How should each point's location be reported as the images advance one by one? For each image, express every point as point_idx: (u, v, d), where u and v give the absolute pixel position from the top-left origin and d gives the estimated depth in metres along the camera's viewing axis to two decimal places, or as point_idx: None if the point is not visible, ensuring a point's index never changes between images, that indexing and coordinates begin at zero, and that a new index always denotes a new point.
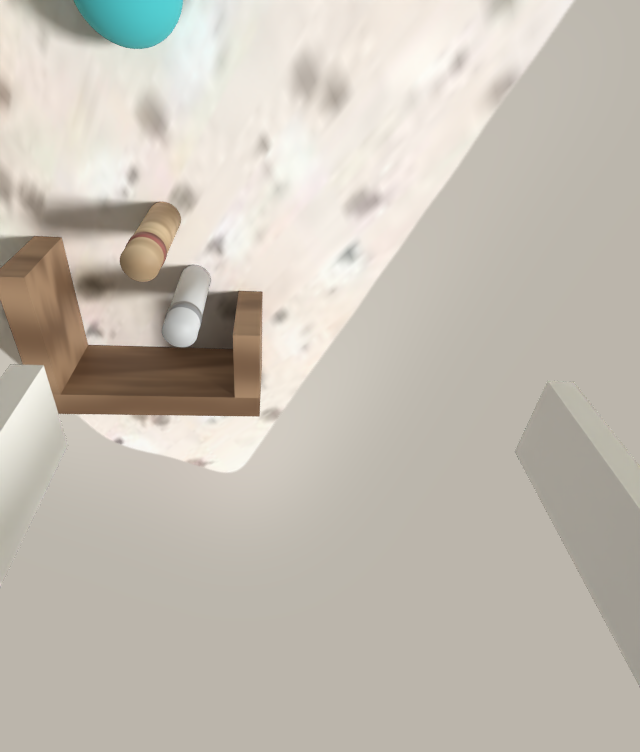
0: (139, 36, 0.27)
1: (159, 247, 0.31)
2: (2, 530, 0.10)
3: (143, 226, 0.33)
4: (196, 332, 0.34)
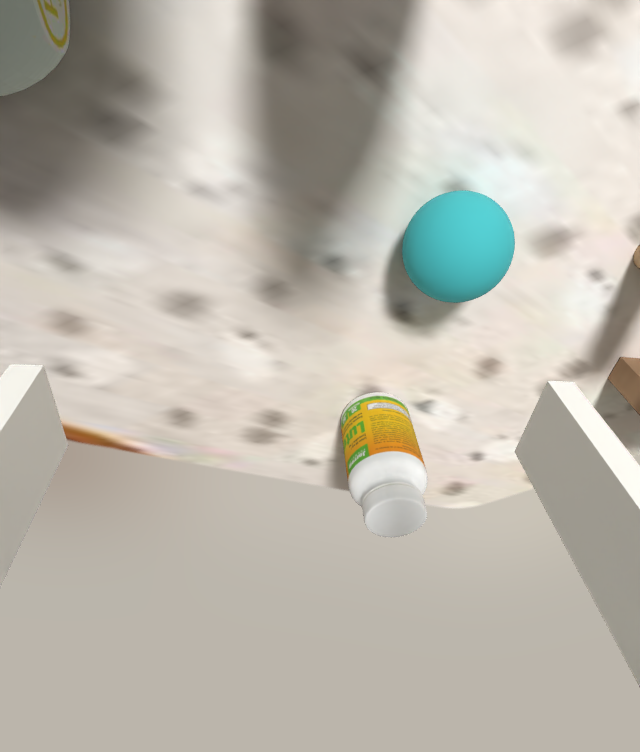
0: (512, 251, 0.26)
1: None
2: (2, 530, 0.10)
3: None
4: None
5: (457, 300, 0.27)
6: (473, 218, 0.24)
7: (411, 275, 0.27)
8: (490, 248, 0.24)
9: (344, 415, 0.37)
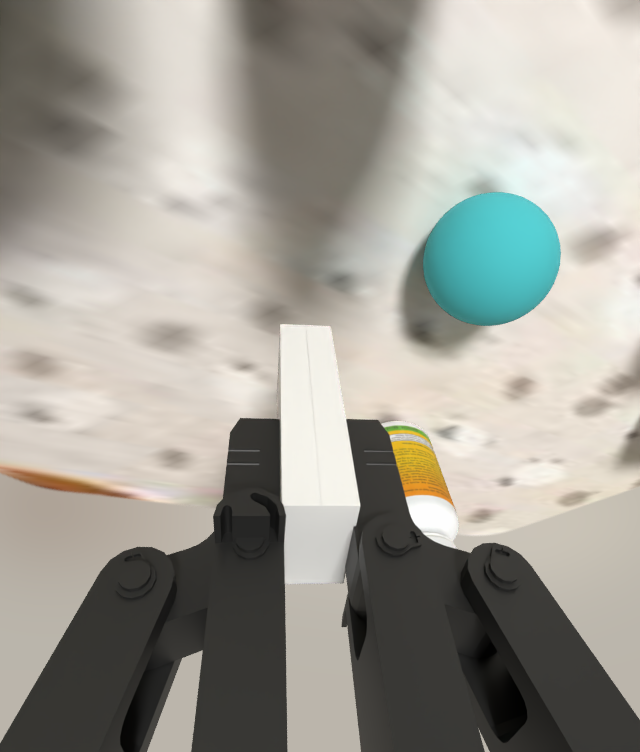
0: (558, 264, 0.21)
1: None
2: None
3: None
4: None
5: (492, 324, 0.22)
6: (512, 228, 0.20)
7: (436, 296, 0.23)
8: (535, 262, 0.20)
9: None
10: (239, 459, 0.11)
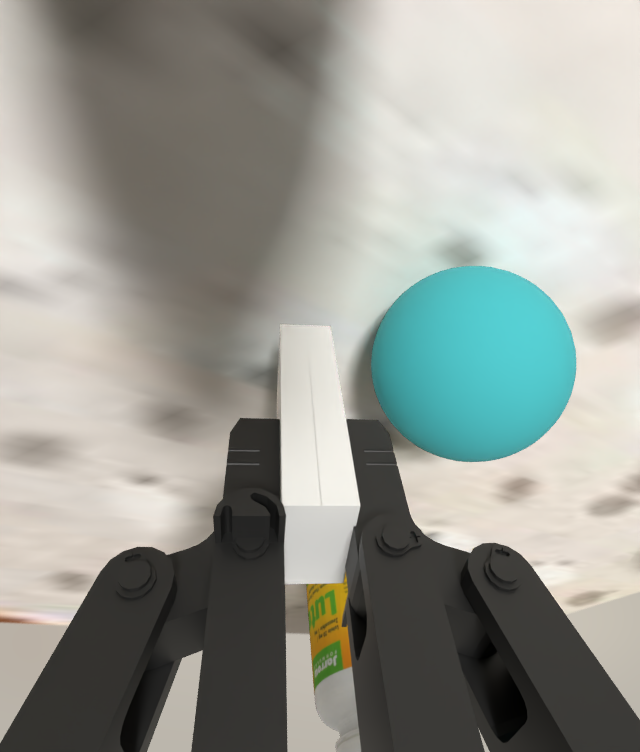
0: (574, 380, 0.14)
1: None
2: None
3: None
4: None
5: None
6: (501, 336, 0.12)
7: (389, 419, 0.15)
8: (538, 390, 0.12)
9: None
10: (239, 459, 0.11)
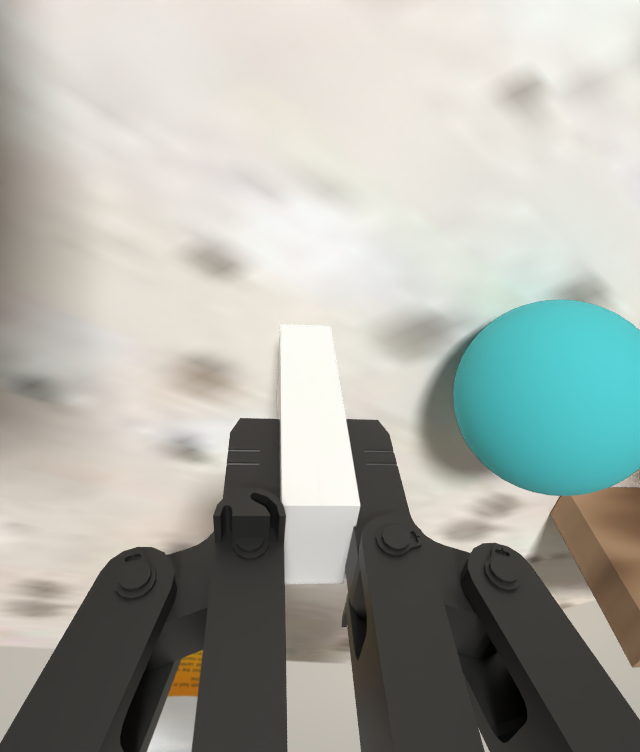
0: (468, 350, 0.15)
1: None
2: None
3: None
4: None
5: None
6: None
7: None
8: None
9: None
10: (239, 459, 0.11)
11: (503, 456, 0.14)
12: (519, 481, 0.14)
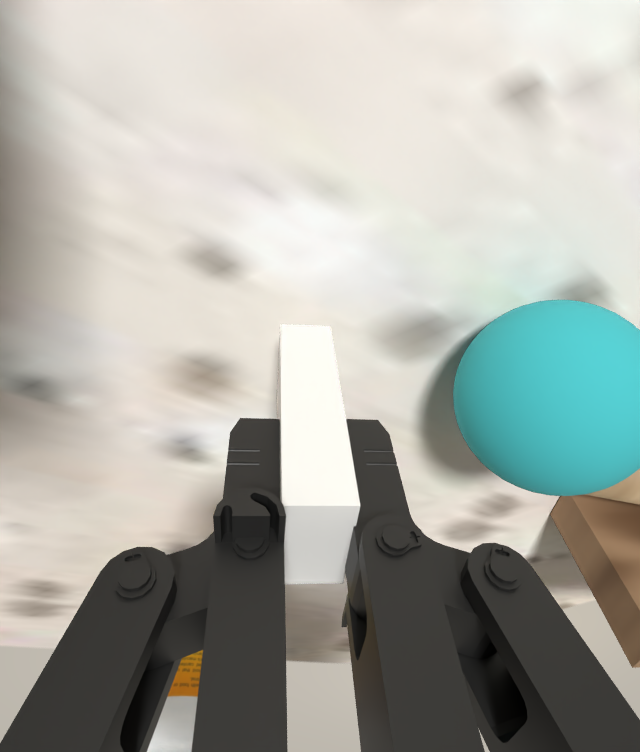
0: (468, 350, 0.15)
1: None
2: None
3: None
4: None
5: None
6: None
7: None
8: None
9: None
10: (239, 459, 0.11)
11: (503, 456, 0.14)
12: (519, 481, 0.14)
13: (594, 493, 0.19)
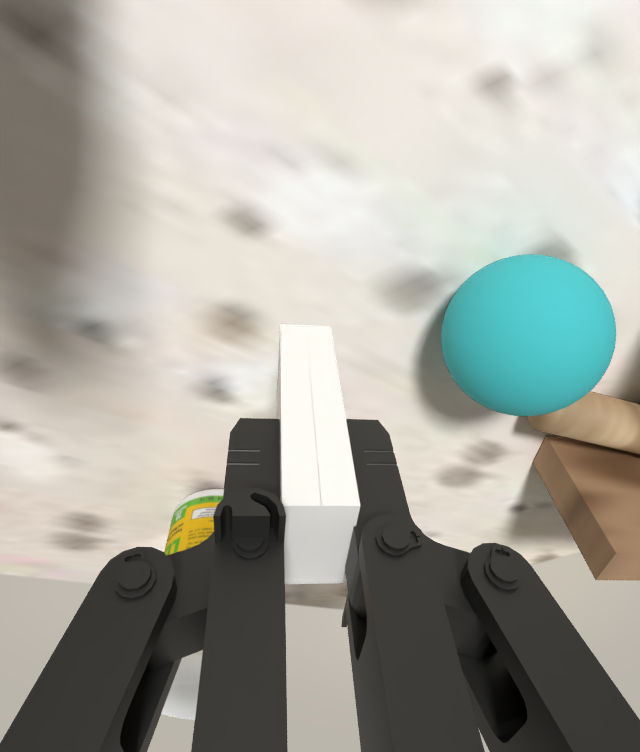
0: (453, 297, 0.19)
1: None
2: None
3: None
4: None
5: None
6: None
7: None
8: None
9: (172, 520, 0.27)
10: (239, 459, 0.11)
11: (478, 378, 0.17)
12: (492, 401, 0.17)
13: (566, 432, 0.22)
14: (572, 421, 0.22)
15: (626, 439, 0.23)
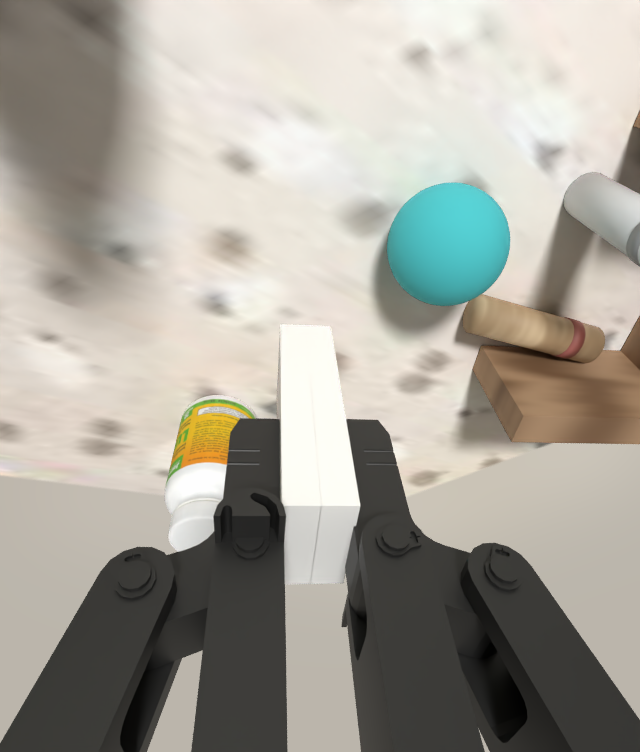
0: None
1: None
2: None
3: None
4: None
5: None
6: None
7: None
8: None
9: None
10: (239, 459, 0.11)
11: (410, 272, 0.23)
12: (422, 290, 0.24)
13: (490, 332, 0.29)
14: (493, 322, 0.28)
15: (537, 338, 0.29)
